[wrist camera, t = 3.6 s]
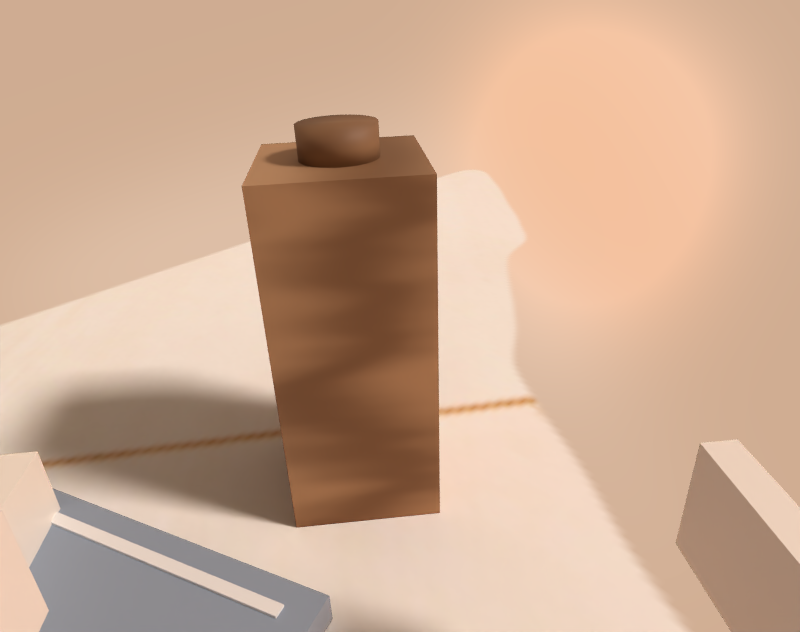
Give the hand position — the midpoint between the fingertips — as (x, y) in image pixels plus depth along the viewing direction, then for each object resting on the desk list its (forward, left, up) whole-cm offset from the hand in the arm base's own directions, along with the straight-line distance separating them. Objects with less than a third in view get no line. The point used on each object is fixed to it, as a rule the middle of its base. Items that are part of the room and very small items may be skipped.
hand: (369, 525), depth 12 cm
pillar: (-5, +8, -7) cm, 12 cm away
